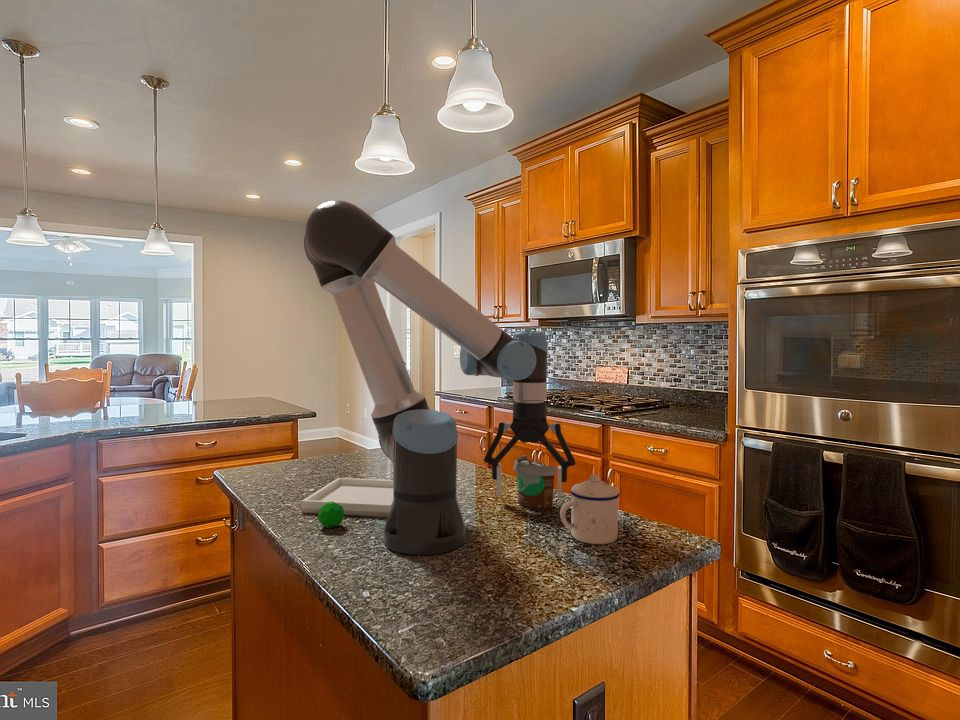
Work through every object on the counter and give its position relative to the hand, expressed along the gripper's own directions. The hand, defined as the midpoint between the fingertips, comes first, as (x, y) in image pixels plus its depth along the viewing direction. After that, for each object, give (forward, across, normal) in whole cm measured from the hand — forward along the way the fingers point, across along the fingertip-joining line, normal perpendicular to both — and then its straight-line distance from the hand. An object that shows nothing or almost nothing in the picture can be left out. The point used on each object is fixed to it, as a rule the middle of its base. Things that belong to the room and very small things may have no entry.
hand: (529, 495), depth 121 cm
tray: (+2, +38, +3) cm, 38 cm away
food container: (+3, 0, 0) cm, 3 cm away
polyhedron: (+2, +38, +20) cm, 43 cm away
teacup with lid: (+3, -12, +18) cm, 22 cm away
